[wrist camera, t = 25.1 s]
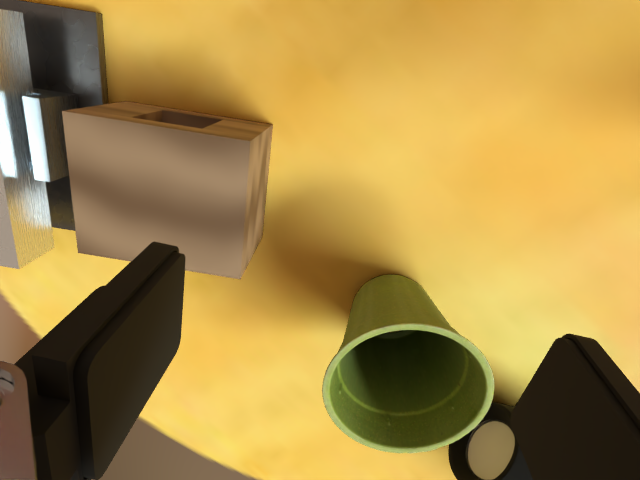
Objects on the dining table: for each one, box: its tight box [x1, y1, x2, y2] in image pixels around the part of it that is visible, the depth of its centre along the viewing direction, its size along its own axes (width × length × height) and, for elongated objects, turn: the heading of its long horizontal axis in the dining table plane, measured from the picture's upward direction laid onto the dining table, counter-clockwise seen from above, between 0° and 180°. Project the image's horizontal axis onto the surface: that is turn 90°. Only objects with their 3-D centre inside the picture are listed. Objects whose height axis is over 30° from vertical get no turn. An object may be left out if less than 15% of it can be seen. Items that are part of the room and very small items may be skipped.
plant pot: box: [322, 275, 494, 453], centre depth 33 cm, size 12×12×11 cm
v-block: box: [0, 0, 108, 231], centre depth 31 cm, size 18×12×5 cm, turn 172°
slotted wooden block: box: [62, 101, 273, 279], centre depth 30 cm, size 10×12×8 cm
